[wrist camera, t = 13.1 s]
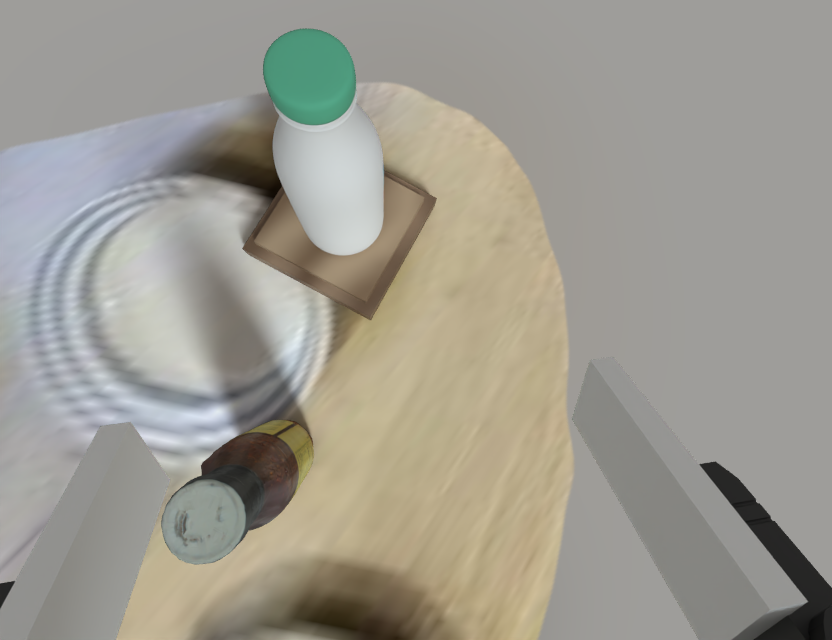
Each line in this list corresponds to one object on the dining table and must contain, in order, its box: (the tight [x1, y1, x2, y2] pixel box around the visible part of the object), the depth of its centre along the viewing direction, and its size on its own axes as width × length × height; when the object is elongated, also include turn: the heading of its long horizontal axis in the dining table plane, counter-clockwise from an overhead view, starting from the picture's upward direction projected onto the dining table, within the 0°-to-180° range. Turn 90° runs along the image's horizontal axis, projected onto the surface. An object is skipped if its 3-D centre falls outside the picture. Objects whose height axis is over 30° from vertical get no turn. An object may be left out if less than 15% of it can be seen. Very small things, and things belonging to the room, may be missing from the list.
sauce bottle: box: [161, 420, 314, 564], centre depth 30 cm, size 6×6×20 cm
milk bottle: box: [263, 29, 384, 256], centre depth 31 cm, size 8×8×20 cm
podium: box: [242, 170, 437, 320], centre depth 42 cm, size 14×14×3 cm
